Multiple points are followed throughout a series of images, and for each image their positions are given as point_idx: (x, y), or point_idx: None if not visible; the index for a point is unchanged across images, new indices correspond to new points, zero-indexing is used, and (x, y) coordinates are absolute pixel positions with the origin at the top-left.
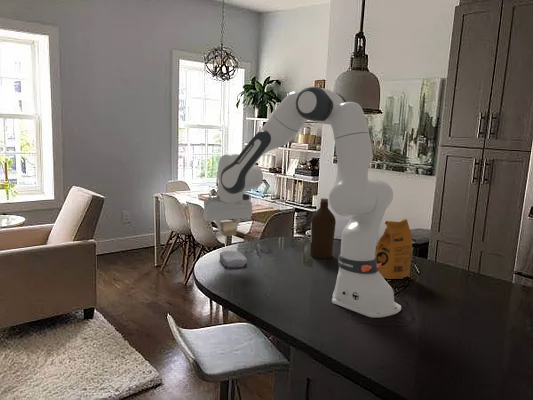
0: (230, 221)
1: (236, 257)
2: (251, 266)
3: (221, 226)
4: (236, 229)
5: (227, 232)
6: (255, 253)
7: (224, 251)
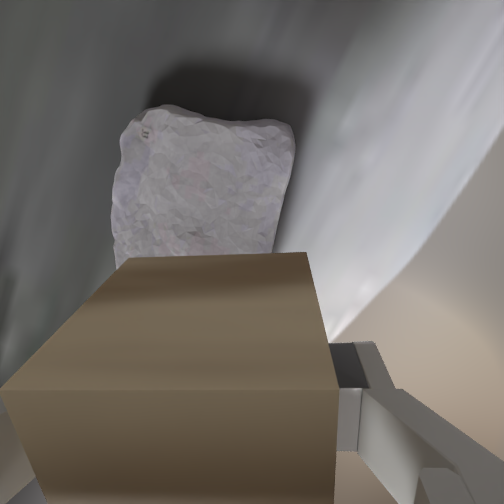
0: (116, 501)
1: (195, 163)
2: (116, 88)
3: None
4: None
5: (262, 275)
6: (16, 315)
7: None
